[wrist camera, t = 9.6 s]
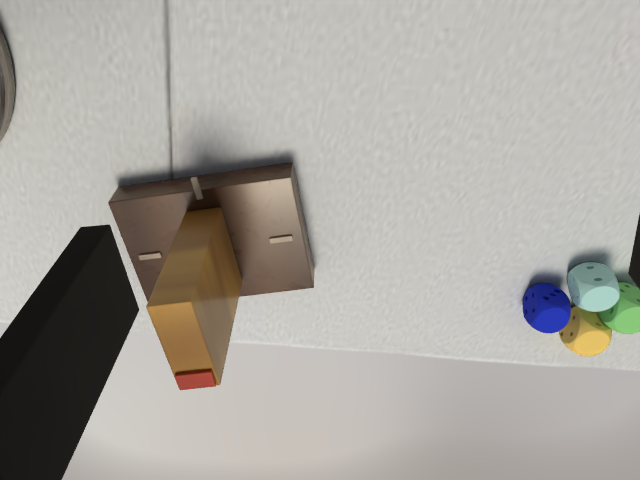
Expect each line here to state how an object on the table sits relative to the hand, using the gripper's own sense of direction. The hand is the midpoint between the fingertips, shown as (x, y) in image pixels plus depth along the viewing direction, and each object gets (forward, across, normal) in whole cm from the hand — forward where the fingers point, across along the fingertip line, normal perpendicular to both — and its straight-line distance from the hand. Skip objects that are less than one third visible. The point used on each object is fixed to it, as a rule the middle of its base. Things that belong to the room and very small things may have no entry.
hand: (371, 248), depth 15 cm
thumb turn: (+18, -10, -11) cm, 23 cm away
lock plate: (+20, -10, -11) cm, 25 cm away
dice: (+19, +14, -15) cm, 28 cm away
